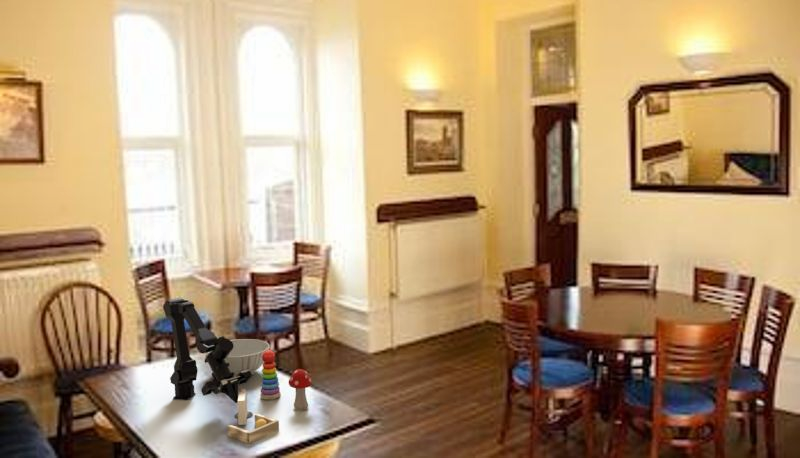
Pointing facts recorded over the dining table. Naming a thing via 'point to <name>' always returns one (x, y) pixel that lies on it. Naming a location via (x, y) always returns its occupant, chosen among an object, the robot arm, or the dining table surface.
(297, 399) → the decorative mushroom
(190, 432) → the dining table surface
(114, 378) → the dining table surface
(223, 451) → the dining table surface
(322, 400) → the dining table surface
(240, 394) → the lever
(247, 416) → the pivot plate
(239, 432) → the tray
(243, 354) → the decorative bowl
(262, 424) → the ball
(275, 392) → the stacking toy
